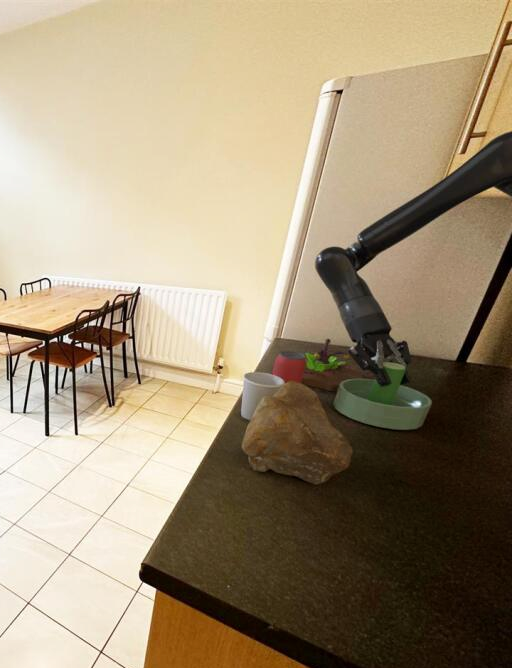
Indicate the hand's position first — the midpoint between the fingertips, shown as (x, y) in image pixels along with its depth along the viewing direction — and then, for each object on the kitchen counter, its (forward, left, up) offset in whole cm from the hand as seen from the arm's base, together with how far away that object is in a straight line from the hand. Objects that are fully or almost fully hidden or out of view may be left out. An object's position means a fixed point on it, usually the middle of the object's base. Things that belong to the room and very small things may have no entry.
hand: (395, 384), depth 94 cm
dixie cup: (+28, -7, -9) cm, 30 cm away
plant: (-6, -24, -9) cm, 27 cm away
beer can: (+14, -15, -9) cm, 22 cm away
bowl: (0, -2, -9) cm, 9 cm away
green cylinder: (0, -2, -5) cm, 5 cm away
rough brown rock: (+35, +13, -9) cm, 39 cm away
